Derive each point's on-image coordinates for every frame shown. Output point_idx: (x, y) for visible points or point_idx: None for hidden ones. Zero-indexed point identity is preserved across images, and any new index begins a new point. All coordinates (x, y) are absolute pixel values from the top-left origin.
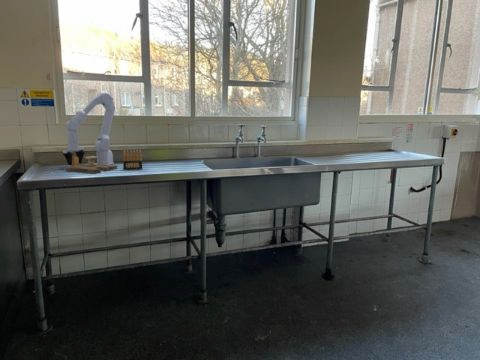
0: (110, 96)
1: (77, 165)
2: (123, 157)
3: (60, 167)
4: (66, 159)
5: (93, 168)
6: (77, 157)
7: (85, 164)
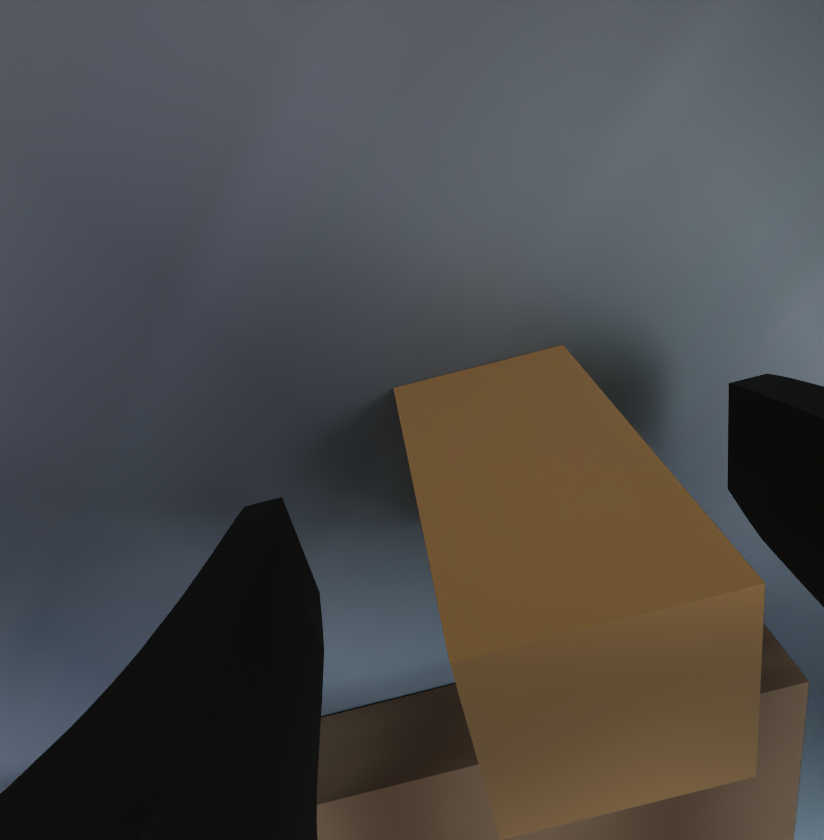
0: None
1: (328, 821)
2: None
3: (64, 181)
4: (137, 676)
5: None
6: (683, 765)
7: None
